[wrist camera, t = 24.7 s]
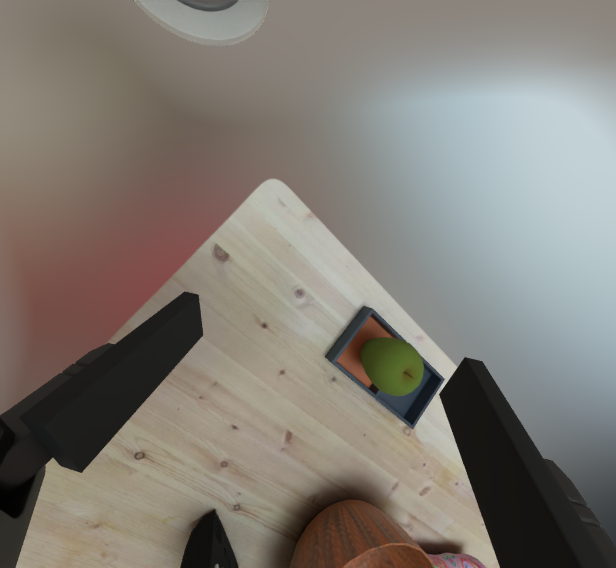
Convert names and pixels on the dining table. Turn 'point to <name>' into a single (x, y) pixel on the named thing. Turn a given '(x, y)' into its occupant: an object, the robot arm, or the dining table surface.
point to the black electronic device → (208, 546)
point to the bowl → (356, 540)
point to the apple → (392, 365)
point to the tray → (349, 363)
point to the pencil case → (455, 561)
